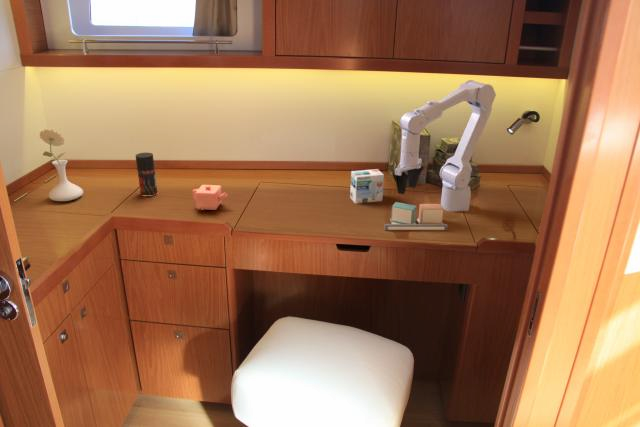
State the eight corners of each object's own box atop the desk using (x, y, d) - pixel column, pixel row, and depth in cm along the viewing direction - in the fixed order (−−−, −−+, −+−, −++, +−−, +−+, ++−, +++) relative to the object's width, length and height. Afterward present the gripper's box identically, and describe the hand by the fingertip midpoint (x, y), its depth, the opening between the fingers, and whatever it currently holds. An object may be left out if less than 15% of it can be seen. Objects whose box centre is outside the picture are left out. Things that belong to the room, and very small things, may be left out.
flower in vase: (91, 195, 189) (79, 128, 179) (65, 206, 179) (51, 136, 169) (65, 189, 194) (52, 124, 184) (38, 200, 184) (23, 131, 174)
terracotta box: (439, 219, 172) (441, 203, 170) (442, 224, 168) (444, 208, 166) (418, 219, 172) (419, 203, 170) (420, 224, 168) (422, 208, 166)
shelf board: (434, 210, 180) (435, 204, 179) (447, 232, 165) (447, 225, 164) (377, 210, 180) (378, 204, 179) (384, 232, 164) (385, 225, 163)
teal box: (414, 221, 170) (416, 205, 168) (411, 225, 167) (412, 210, 165) (394, 217, 173) (395, 202, 171) (390, 221, 170) (391, 206, 168)
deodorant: (158, 195, 190) (153, 156, 184) (141, 197, 188) (136, 158, 182) (156, 190, 195) (152, 151, 189) (140, 192, 193) (134, 153, 187)
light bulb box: (355, 205, 184) (356, 176, 180) (349, 198, 190) (350, 170, 186) (383, 202, 187) (385, 174, 182) (376, 196, 193) (378, 168, 188)
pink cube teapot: (225, 213, 176) (223, 190, 173) (191, 211, 177) (188, 189, 174) (230, 204, 183) (229, 182, 180) (197, 202, 184) (196, 181, 181)
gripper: (410, 158, 158) (406, 199, 164) (431, 147, 169) (427, 186, 174) (390, 154, 162) (387, 194, 168) (412, 143, 173) (409, 182, 178)
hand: (406, 190), depth 171 cm, fingers open, 7 cm apart
